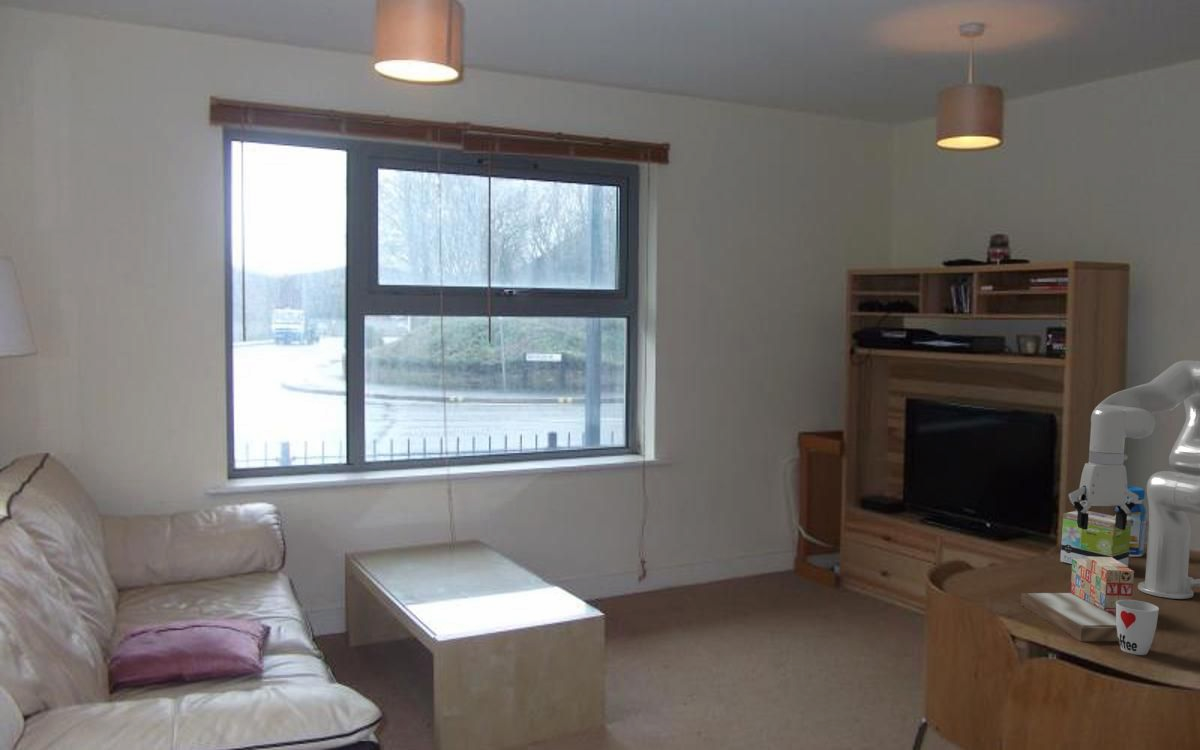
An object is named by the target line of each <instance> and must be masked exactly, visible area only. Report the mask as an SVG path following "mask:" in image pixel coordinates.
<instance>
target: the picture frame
mask: <svg viewBox="0 0 1200 750" xmlns="http://www.w3.org/2000/svg"><path fill="white" fill-rule="evenodd" d="M1020 595H1021V597H1020V599H1021V600H1020V606H1021V607H1023V606H1024V607H1023V608H1025V609H1026V608H1027V609H1026V610H1028V611H1030V612H1031V611H1032V612H1031V613H1033V614H1034V615H1036V614H1037V616H1038V617H1040V618H1041V617H1042V618H1041V619H1042V620H1045V621H1046V620H1047V622H1048V623H1049V622H1050V623H1049V624H1051V625H1053V626H1054V627H1056V628H1058V629H1059V628H1060V629H1059V630H1062V631H1063V633H1066V634H1068V635H1069V634H1070V635H1069V636H1070V637H1073V638H1074V639H1076V640H1078V641H1080V642H1119V640H1118V634H1117V626H1116V616H1114V615H1113V614H1111V613H1109V612H1107V611H1105V610H1103V609H1101V608H1099V607H1097V606H1096V605H1094V604H1092V603H1090V602H1088V601H1086V600H1084V599H1082V598H1080V597H1079V596H1077V595H1075V594H1073V593H1071V592H1038V593H1037V592H1033V593H1032V592H1030V593H1029V592H1027V593H1026V592H1025V593H1024V592H1023V593H1022V592H1021V594H1020Z"/></svg>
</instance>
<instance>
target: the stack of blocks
mask: <svg viewBox="0 0 1200 750" xmlns="http://www.w3.org/2000/svg"><path fill="white" fill-rule="evenodd" d="M1134 574H1135V570H1133V569H1131V568H1129V565H1128V566H1126V565H1125V564H1123V563H1121V562H1119V561H1117V560H1116V559H1114V558H1112V557H1092V556H1087V559H1072V564H1071V577H1070V579H1071V580H1070V582H1071V584H1070V585H1071V586H1070V593H1073V594H1075V595H1077V596H1079V597H1080V598H1082V599H1084V600H1086V601H1088V602H1090V603H1092V604H1094V605H1096V606H1097V607H1099V608H1101V609H1103V610H1105V611H1107V612H1109V613H1111V614H1113V615H1114V616H1116V601H1118V600H1133V590H1134V578H1135V577H1134V576H1135V575H1134Z"/></svg>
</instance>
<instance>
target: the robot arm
mask: <svg viewBox="0 0 1200 750" xmlns="http://www.w3.org/2000/svg"><path fill="white" fill-rule="evenodd" d="M1182 403H1183V404H1184V409H1185V421H1184V424H1183V427H1182V428H1181V429H1180V432H1179V434H1178V437H1177V438H1176V440H1175V442H1174V443H1173V446H1172V448H1171V451H1170V453H1169V457H1168V463H1169V465H1170V467H1171V469H1174V470H1175V471H1173V470H1172V471H1171V470H1161V471H1156V472H1154V473H1152V475H1150V477H1149V478H1148V480H1147V483H1146V495H1147V502H1148V512H1149V513H1148V529H1147V530H1148V532H1147V549H1146V561H1145V575H1144V578H1145V579H1144V581H1141V582H1138V583H1137V589H1138V590H1139V591H1140V592H1142V593H1144V594H1146V595H1147V594H1148V595H1151V596H1155V597H1159V598H1166V599H1176V600H1184V599H1190V598H1193V597H1194V590H1192V588H1194V587H1200V578H1193V577H1191V576H1189V575H1188V574H1189V563H1190V550H1191V549H1190V547H1191V546H1190V545H1191V535H1192V529H1191V523H1190V521H1189V519H1188V516H1187V514H1186V512H1187V513H1192V514H1197V515H1200V360H1191V359H1190V360H1188V359H1187V360H1185V359H1184V360H1179V361H1177V362H1174V363H1172V365H1170V366H1168V368H1167V369H1166V368H1165V370H1164V371H1162V372H1161V373H1160V374H1159V375H1157V376H1156V377H1154V378H1153V379H1152V380H1151V381H1150V382H1147V383H1143V384H1140V385H1137V386H1132V387H1130V388H1126V389H1122V390H1119V391H1117V392H1115V393H1113V394H1111V395H1109V396H1107V397H1106V398H1105V399H1103V400H1102V401H1100V403H1098V405H1097V406H1096V407H1095V408H1094V409H1093V410H1092V413H1091V415H1090V437H1089V447H1088V449H1089V453H1088V462H1085V463H1084V466H1083V469H1082V472H1081V475H1080V476H1081V477H1080V483H1079V488H1078V489H1075V490H1074V491H1072V492H1069V493H1068V495H1067V496H1068V498H1069V500H1070V503H1071V506H1073V508H1074V509H1075V511H1078V516H1077V524H1078V527H1079V528H1082V529H1084V530H1087V529H1088V513H1086V512H1087V511H1090V510H1089V509H1090V508H1091V507H1092V506H1093V507H1115V508H1116V507H1117V509H1118V510H1119V511H1117V512H1116V511H1115V514H1116V521H1115V527H1116V528H1119V529H1121V530H1125V528H1126V523H1127V514H1129V513H1130V510H1131V509H1132V508H1133V507H1134V506H1135V503H1136V501H1137V500H1138V498H1139V496H1138V495H1136V494H1135V493H1133V492H1131V491H1130V490H1128V489H1127V486H1128V475H1127V474H1128V473H1127V468H1126V466H1125V465H1124V462H1125V461H1128V458H1129V456H1128V455H1127V454H1125V441H1126V438H1128V439H1129V438H1130V439H1138V440H1139V439H1144V438H1147V437H1149V436H1150V435H1151V434H1152V433H1153V432H1154V430H1155V428H1156V418H1155V417H1154V415H1155V414H1162V413H1167V412H1170V411H1172V410H1174V409H1176V407H1178V406H1179V405H1180V404H1182ZM1127 496H1129V501H1127ZM1126 501H1127V502H1126Z"/></svg>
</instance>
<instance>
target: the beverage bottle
mask: <svg viewBox="0 0 1200 750" xmlns="http://www.w3.org/2000/svg"><path fill="white" fill-rule="evenodd" d="M1127 489H1128V490H1130V491H1131V492H1133V493H1135V494H1136V495H1138V496H1139V498H1138V500H1137V501H1136V503H1135V506H1134V507H1133V508H1132V509H1131V510H1130V513H1129V514H1127V519H1131V533H1130V546H1129V557H1130V558H1138V557H1142V556H1144V553H1145V551H1144V550H1145V549H1144V544H1145V536H1146V535H1145V532H1146V523H1147V518H1146V517H1145V516H1146V515H1147V509H1146V507H1145V504H1144V503H1143V501H1144V500H1145V495H1146V494H1145V492H1146V491H1145V489H1144V488H1141V487H1139V486H1138V487H1137V486H1130V485H1129V486H1128V485H1127ZM1127 501H1129V496H1127ZM1127 501H1126V502H1127ZM1114 510H1115V515H1114V516H1116V512H1117V511H1119V510H1118V509H1117V507H1116V506H1115V509H1114Z"/></svg>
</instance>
